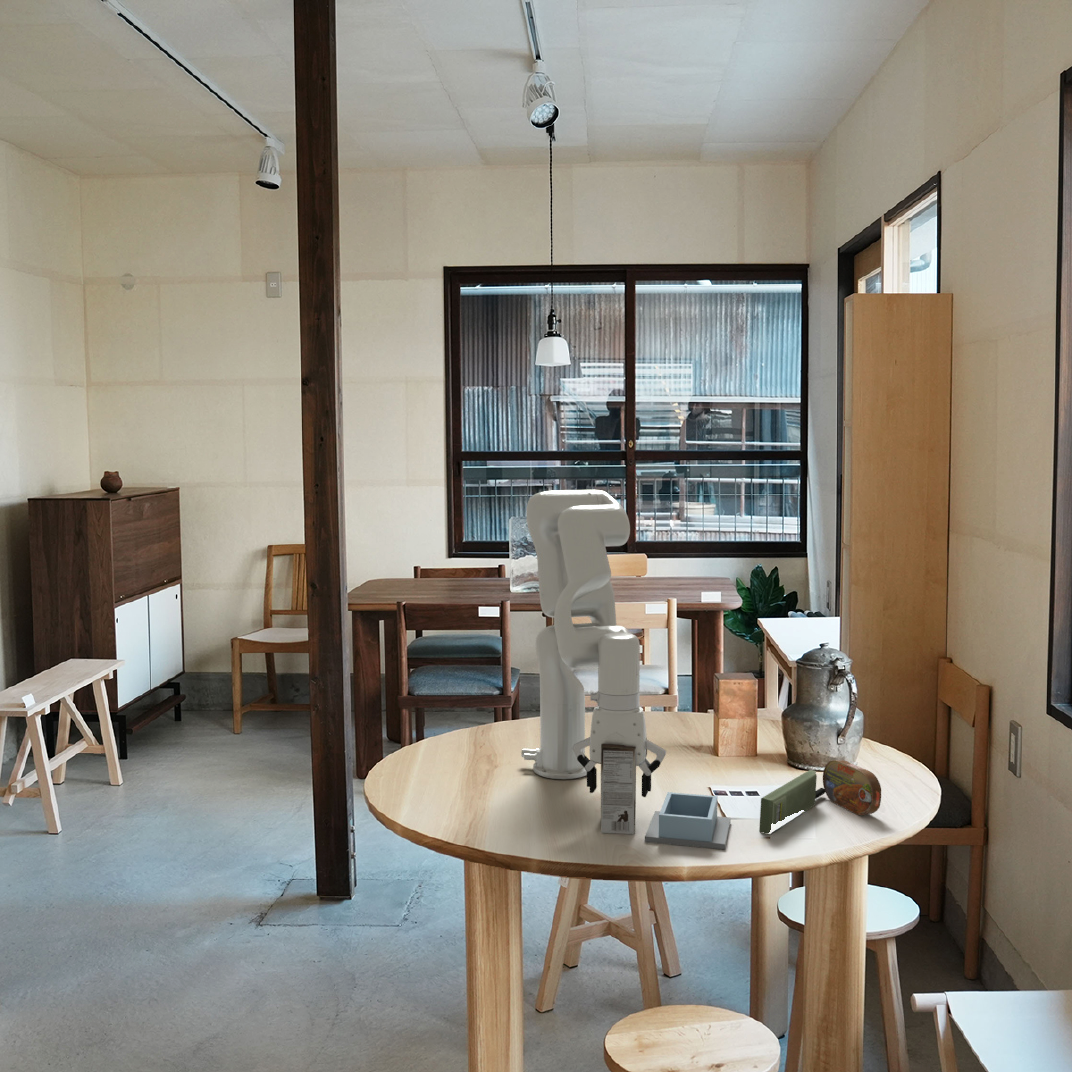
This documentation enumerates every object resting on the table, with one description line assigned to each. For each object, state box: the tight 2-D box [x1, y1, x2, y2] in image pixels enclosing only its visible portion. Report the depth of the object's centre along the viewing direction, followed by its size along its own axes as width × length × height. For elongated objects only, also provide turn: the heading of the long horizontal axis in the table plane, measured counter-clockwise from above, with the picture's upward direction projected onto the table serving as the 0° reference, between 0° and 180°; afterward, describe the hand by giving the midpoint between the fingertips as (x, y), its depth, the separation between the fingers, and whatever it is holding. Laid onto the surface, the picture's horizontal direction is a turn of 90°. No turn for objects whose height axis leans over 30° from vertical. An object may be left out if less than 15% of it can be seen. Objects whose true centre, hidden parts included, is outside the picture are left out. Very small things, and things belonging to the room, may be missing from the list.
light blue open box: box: [644, 791, 731, 851], centre depth 189 cm, size 14×13×5 cm
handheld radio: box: [759, 769, 826, 834], centre depth 198 cm, size 7×3×25 cm
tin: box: [822, 759, 882, 816], centre depth 201 cm, size 15×3×8 cm, turn 21°
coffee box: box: [600, 744, 637, 835], centre depth 192 cm, size 9×6×16 cm
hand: (618, 792), depth 192 cm, fingers open, 9 cm apart
